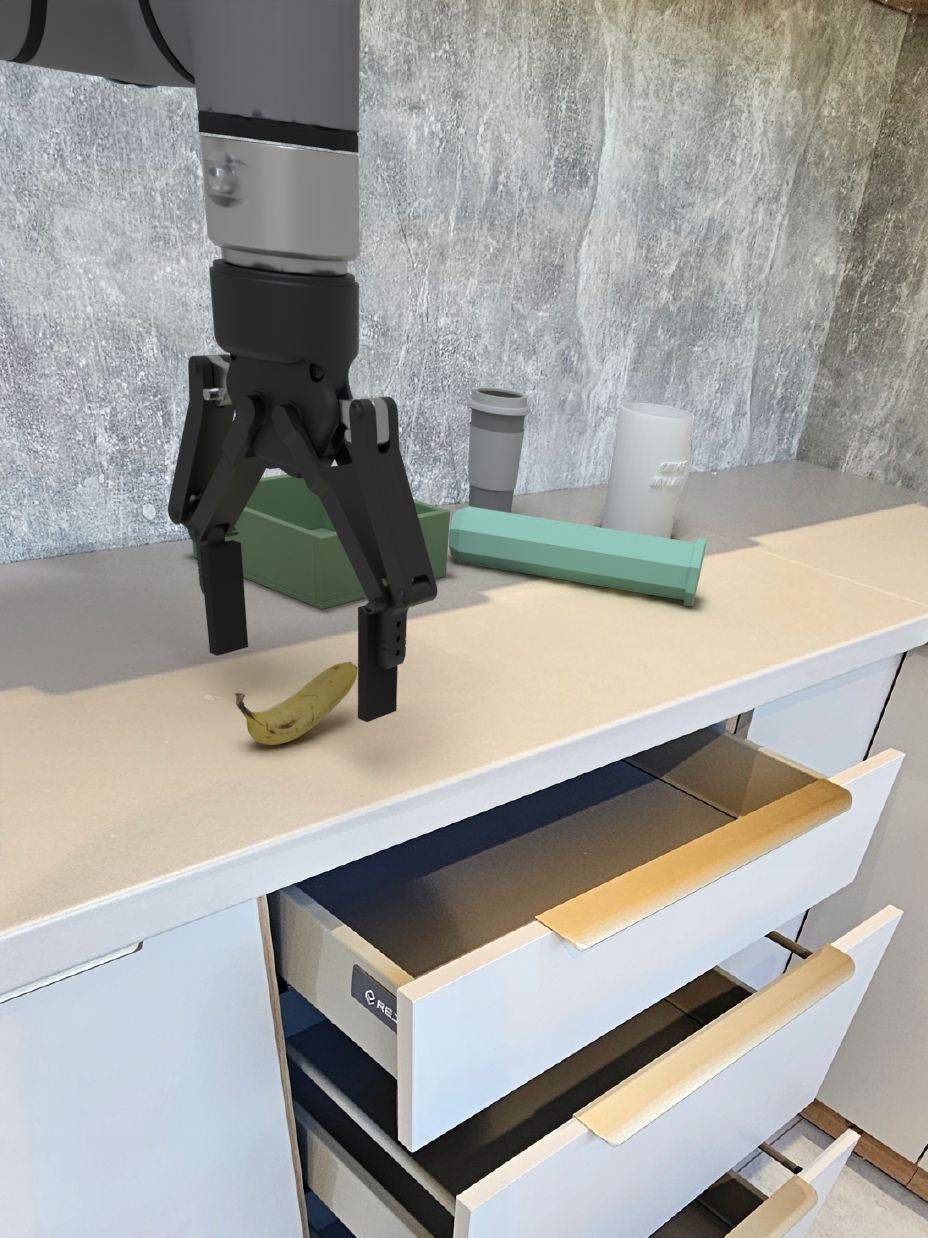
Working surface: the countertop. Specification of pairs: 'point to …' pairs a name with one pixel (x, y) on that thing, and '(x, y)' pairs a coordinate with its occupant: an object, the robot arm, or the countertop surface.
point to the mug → (648, 468)
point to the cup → (495, 445)
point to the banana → (300, 706)
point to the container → (577, 552)
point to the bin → (312, 543)
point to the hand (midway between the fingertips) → (300, 681)
